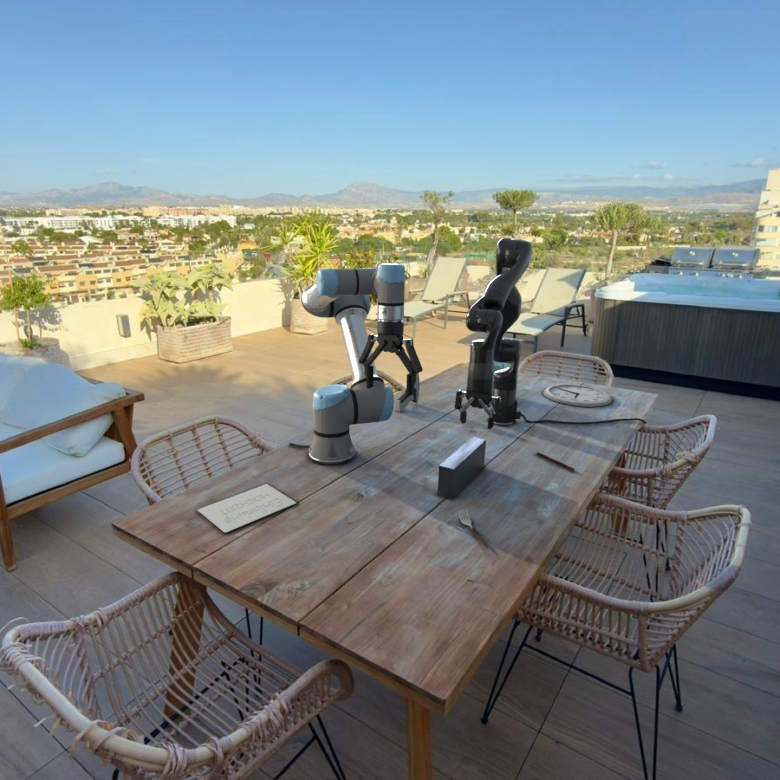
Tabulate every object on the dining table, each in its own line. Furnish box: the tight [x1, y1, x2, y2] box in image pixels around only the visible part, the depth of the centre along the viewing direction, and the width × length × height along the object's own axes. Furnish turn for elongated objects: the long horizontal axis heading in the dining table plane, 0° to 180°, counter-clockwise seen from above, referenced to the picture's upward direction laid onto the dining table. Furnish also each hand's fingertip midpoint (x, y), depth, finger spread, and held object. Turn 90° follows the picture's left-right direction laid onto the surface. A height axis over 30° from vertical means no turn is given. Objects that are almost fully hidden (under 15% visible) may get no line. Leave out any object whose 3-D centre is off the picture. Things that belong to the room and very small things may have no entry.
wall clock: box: [543, 384, 613, 408], centre depth 240 cm, size 30×2×30 cm
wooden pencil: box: [535, 451, 575, 472], centre depth 171 cm, size 15×1×1 cm, turn 34°
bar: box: [437, 436, 487, 500], centre depth 157 cm, size 25×4×9 cm, turn 149°
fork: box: [457, 509, 489, 549], centre depth 131 cm, size 3×16×2 cm, turn 15°
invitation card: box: [196, 483, 297, 534], centre depth 141 cm, size 21×1×15 cm
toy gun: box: [394, 372, 421, 413], centre depth 219 cm, size 2×16×15 cm
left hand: (389, 391), depth 154 cm, fingers open, 13 cm apart
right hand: (476, 425), depth 161 cm, fingers open, 8 cm apart
